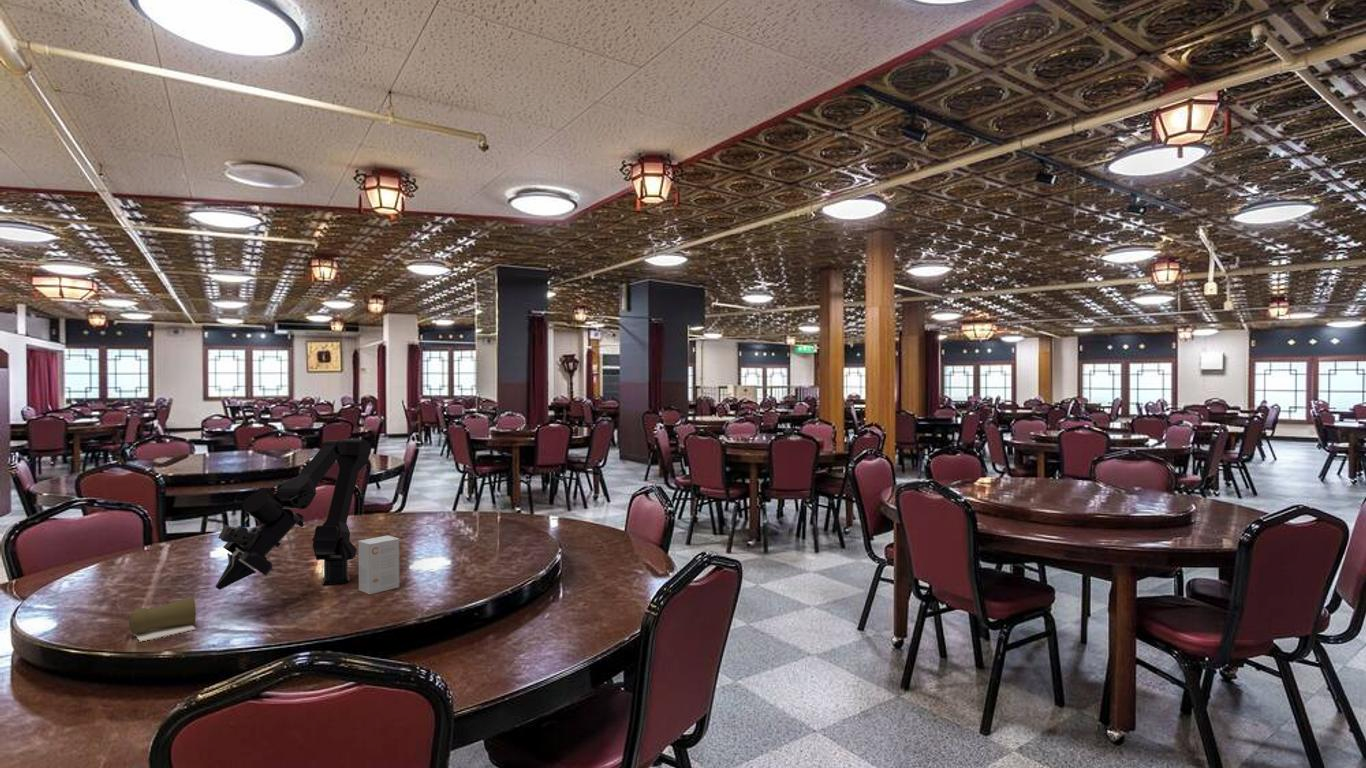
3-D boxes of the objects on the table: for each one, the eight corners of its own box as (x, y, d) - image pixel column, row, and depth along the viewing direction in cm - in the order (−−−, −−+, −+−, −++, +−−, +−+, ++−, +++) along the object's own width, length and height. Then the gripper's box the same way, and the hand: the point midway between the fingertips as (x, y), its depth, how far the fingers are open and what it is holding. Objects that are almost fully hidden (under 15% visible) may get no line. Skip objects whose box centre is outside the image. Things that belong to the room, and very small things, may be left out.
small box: (388, 583, 179) (388, 534, 180) (400, 587, 175) (399, 538, 175) (357, 590, 173) (357, 540, 173) (369, 595, 169) (369, 543, 169)
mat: (184, 619, 152) (184, 617, 152) (195, 630, 145) (195, 628, 145) (131, 630, 145) (131, 629, 145) (139, 642, 138) (139, 640, 138)
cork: (194, 593, 148) (130, 605, 140) (196, 620, 146) (131, 634, 138) (189, 600, 152) (127, 612, 144) (192, 627, 150) (128, 640, 142)
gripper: (233, 506, 162) (177, 561, 155) (255, 517, 150) (196, 577, 142) (270, 533, 168) (218, 587, 160) (294, 545, 156) (239, 604, 148)
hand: (217, 588), depth 152 cm, fingers closed
